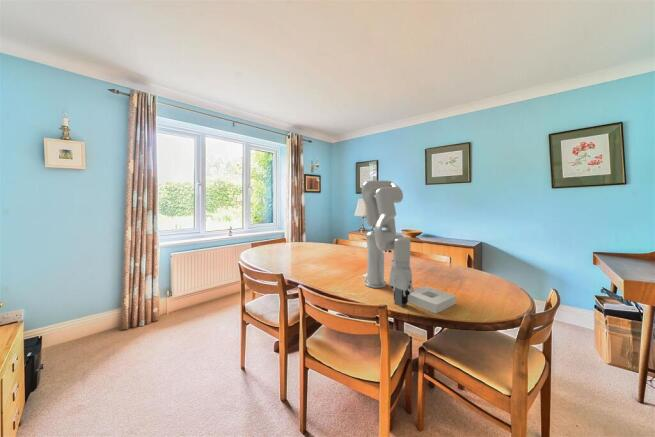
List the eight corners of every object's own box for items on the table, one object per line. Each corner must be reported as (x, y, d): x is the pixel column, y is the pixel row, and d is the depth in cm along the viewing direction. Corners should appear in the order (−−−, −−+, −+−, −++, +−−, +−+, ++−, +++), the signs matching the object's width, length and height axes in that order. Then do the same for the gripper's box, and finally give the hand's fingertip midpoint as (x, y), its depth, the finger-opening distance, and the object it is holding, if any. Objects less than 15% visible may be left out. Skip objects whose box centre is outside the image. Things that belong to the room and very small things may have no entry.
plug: (394, 304, 119) (394, 287, 118) (399, 301, 121) (400, 285, 120) (401, 307, 115) (401, 290, 115) (406, 304, 118) (407, 288, 117)
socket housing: (405, 300, 122) (405, 293, 121) (425, 293, 131) (425, 285, 130) (435, 313, 109) (436, 304, 108) (455, 304, 118) (455, 295, 117)
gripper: (382, 261, 121) (381, 297, 123) (411, 269, 107) (410, 310, 109) (392, 259, 125) (392, 294, 127) (422, 266, 111) (420, 306, 113)
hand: (400, 301), depth 118 cm, fingers closed on plug, 4 cm apart
